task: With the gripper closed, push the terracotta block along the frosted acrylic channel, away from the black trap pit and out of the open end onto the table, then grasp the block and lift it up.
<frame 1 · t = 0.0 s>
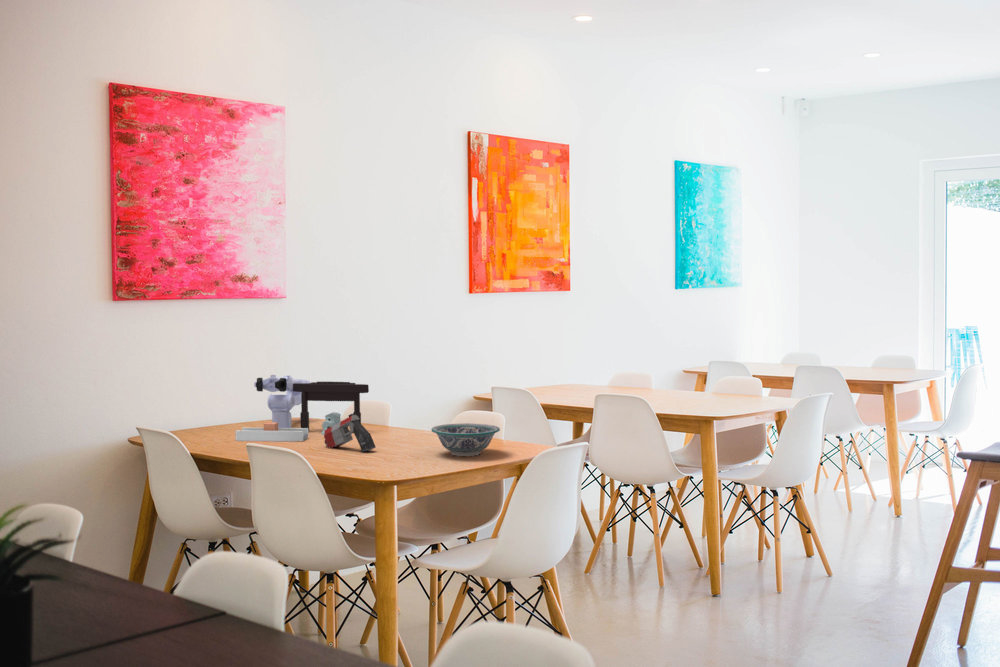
hand: (266, 385, 385), 22 cm above the table, tool horizontal, fingers open, 7 cm apart
trap channel: (271, 439, 385), on the table
toy gun: (348, 450, 363), on the table
black side table: (330, 432, 405), on the table
bowl: (465, 454, 353), on the table
block: (271, 434, 385), point 2 cm above the table, touching trap channel
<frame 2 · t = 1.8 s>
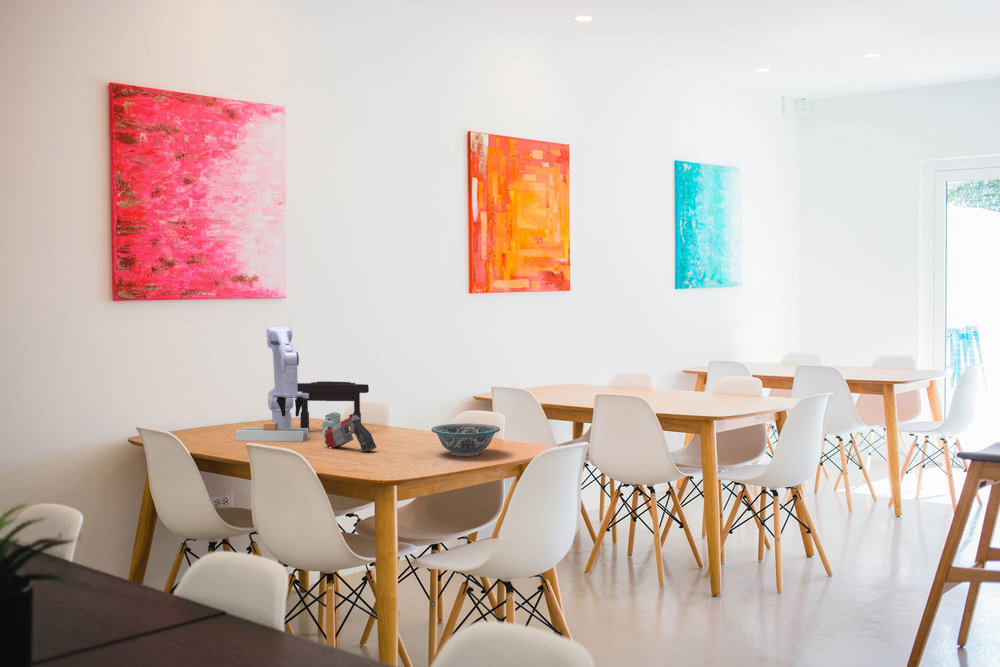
hand: (290, 416, 384), 9 cm above the table, tool pointing down, fingers open, 5 cm apart
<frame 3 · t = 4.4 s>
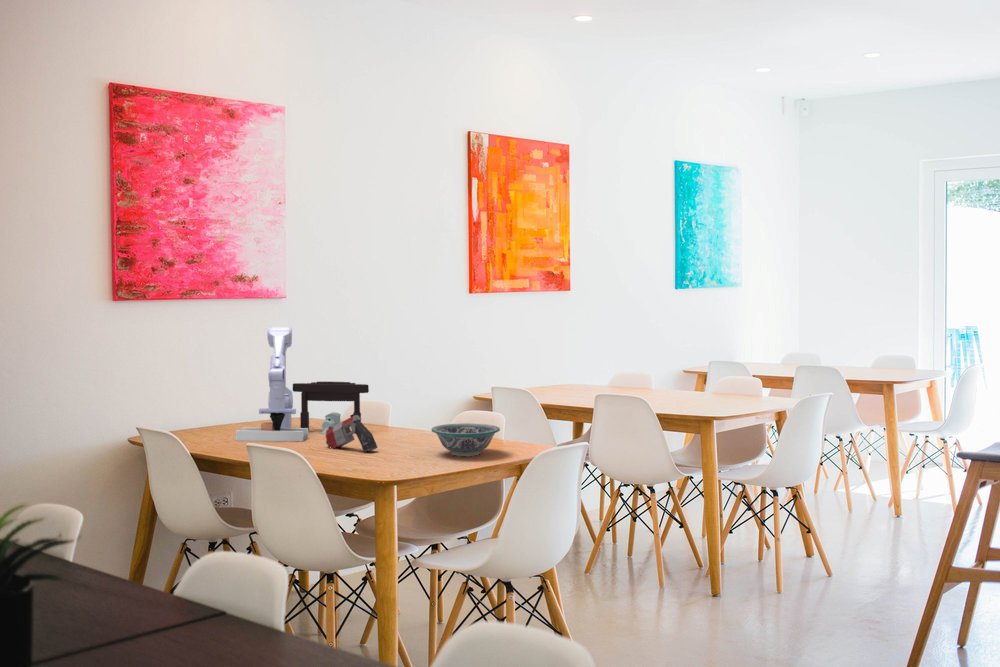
hand: (277, 431, 385), 3 cm above the table, tool pointing down, fingers closed
block: (268, 434, 385), point 2 cm above the table, touching gripper
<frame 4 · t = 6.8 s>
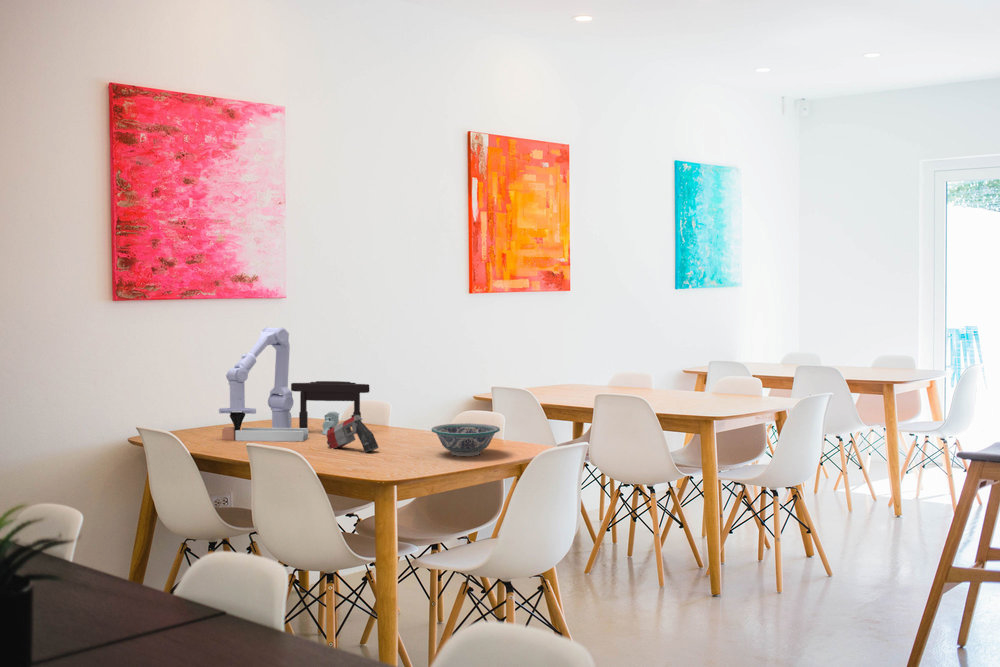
hand: (237, 431, 386), 3 cm above the table, tool pointing down, fingers closed
black side table: (330, 432, 404), on the table, touching arm
block: (235, 433, 386), point 2 cm above the table, tilted 90°, touching gripper
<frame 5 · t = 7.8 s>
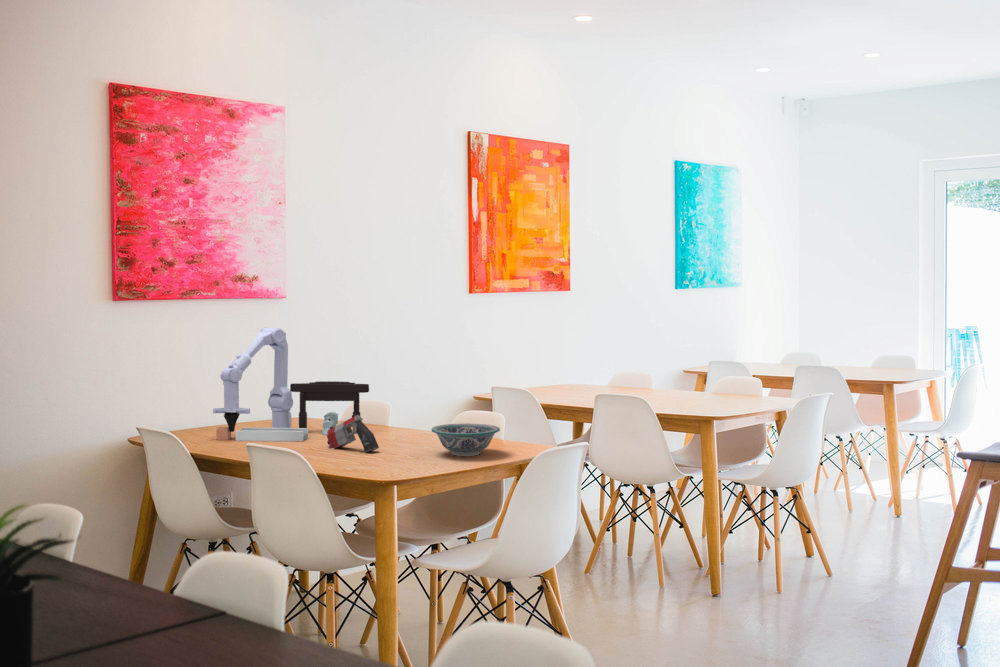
hand: (231, 431, 386), 3 cm above the table, tool pointing down, fingers closed
block: (229, 433, 386), point 2 cm above the table, tilted 90°, touching gripper
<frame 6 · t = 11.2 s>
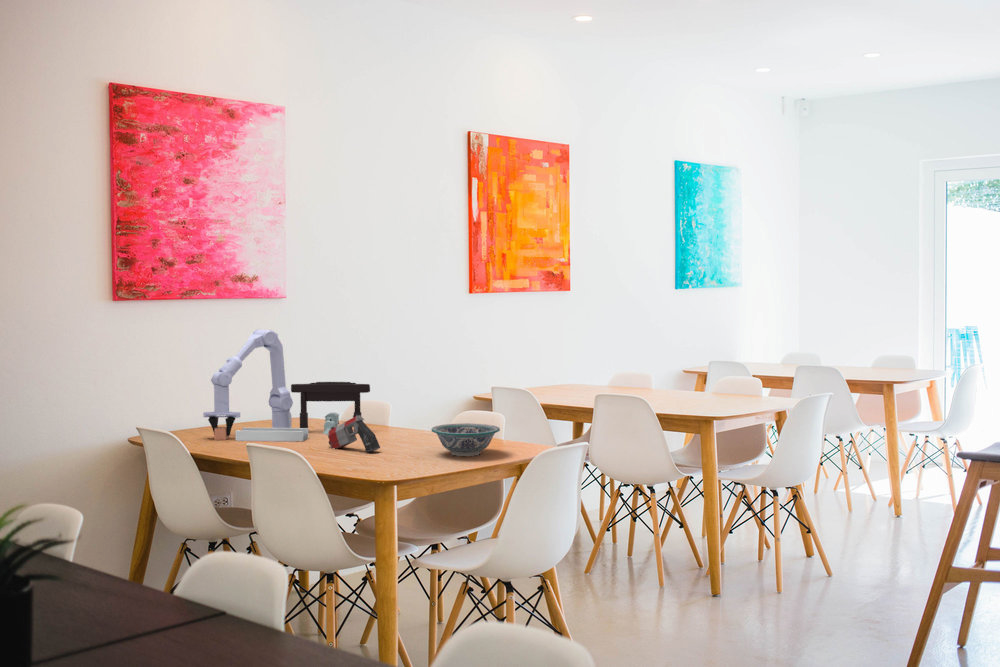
hand: (222, 435, 387), 1 cm above the table, tool pointing down, fingers closed on block, 4 cm apart
black side table: (330, 432, 404), on the table
block: (227, 433, 386), point 2 cm above the table, tilted 90°, touching gripper
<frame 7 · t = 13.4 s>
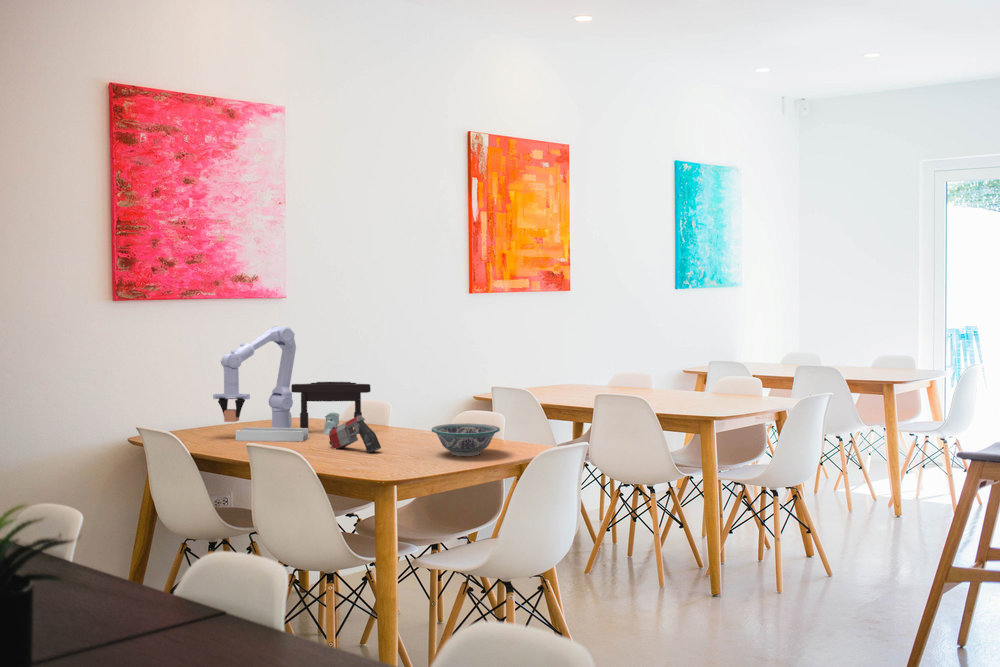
hand: (231, 417, 389), 8 cm above the table, tool pointing down, fingers closed on block, 4 cm apart
block: (237, 415, 389), point 9 cm above the table, tilted 90°, touching gripper
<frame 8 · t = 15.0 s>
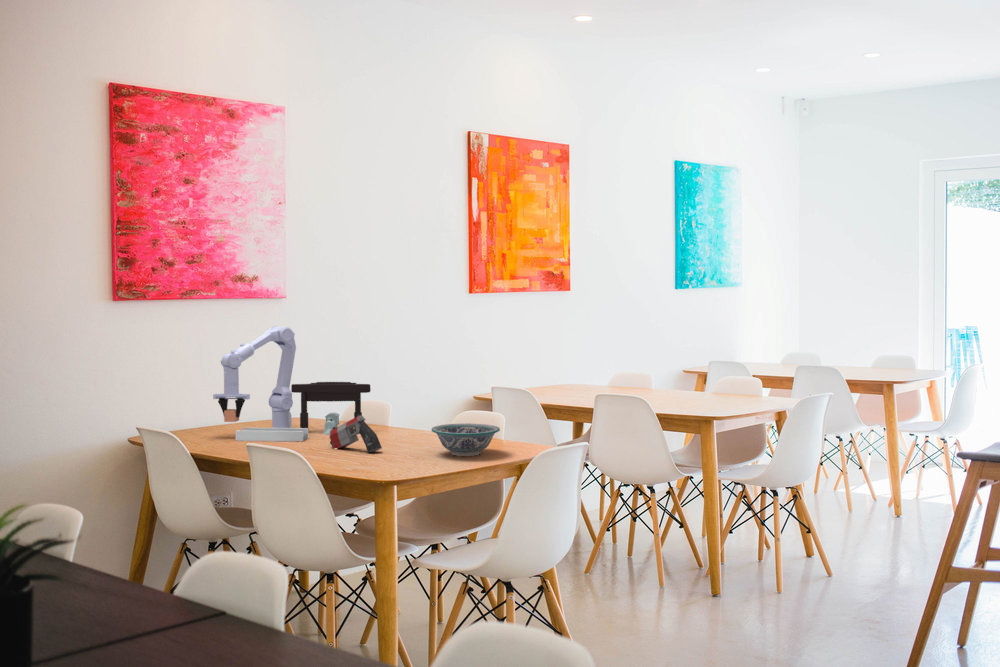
hand: (231, 417, 389), 8 cm above the table, tool pointing down, fingers closed on block, 4 cm apart
black side table: (331, 432, 404), on the table, touching arm
block: (237, 415, 389), point 9 cm above the table, tilted 90°, touching gripper
at the end: block inside the target area (6.0 cm from its centre), point 9.0 cm above the table; the gripper is holding block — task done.
